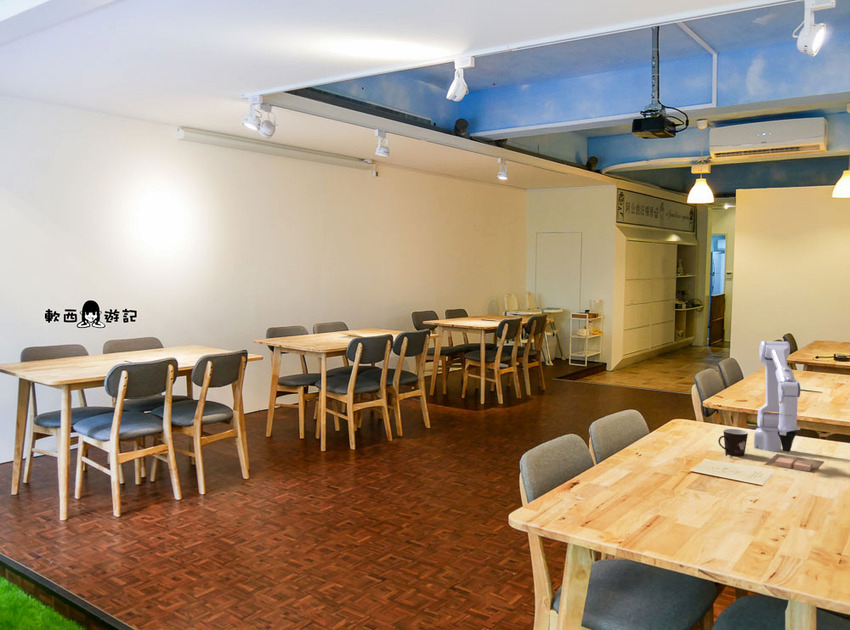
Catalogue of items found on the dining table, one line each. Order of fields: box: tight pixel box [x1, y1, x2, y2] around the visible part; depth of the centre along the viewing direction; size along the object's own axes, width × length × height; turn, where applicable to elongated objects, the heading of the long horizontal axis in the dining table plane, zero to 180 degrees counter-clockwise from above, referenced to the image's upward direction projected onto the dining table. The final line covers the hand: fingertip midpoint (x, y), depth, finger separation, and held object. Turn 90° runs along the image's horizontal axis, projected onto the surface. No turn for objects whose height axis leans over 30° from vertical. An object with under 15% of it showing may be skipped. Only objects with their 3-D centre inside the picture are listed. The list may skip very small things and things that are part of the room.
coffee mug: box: [717, 428, 749, 458], centre depth 261 cm, size 12×9×10 cm
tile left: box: [775, 457, 795, 469], centre depth 246 cm, size 5×2×6 cm
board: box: [763, 453, 825, 474], centre depth 250 cm, size 16×19×1 cm
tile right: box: [794, 460, 813, 472], centre depth 243 cm, size 5×2×6 cm
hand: (786, 451), depth 248 cm, fingers closed
